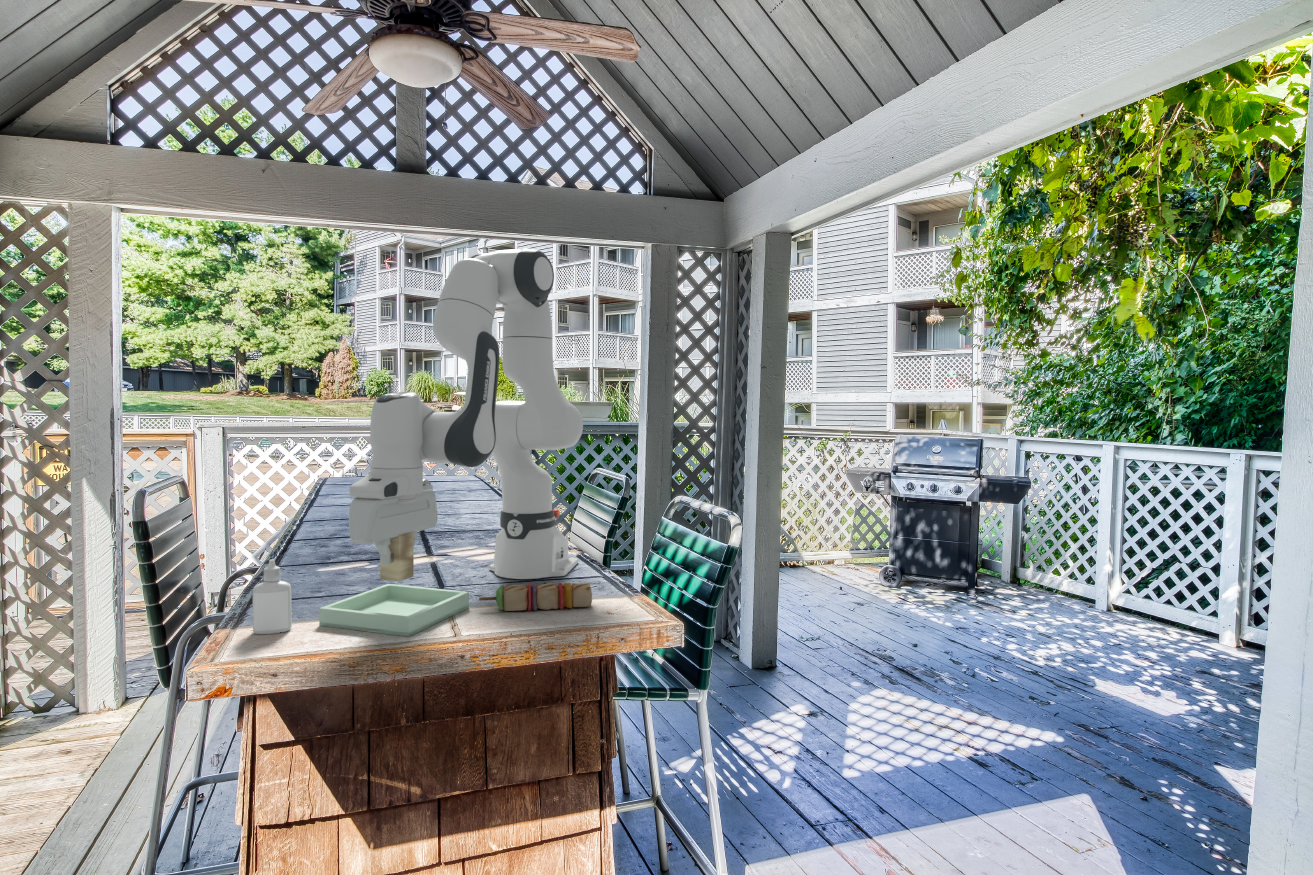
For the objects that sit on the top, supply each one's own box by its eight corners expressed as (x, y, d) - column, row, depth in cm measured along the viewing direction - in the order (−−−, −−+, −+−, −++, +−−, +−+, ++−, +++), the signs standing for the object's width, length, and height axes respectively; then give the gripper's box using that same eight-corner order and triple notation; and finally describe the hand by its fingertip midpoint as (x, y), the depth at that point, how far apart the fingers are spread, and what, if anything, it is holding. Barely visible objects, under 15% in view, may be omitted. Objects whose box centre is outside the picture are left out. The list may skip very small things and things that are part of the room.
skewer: (589, 602, 141) (589, 577, 141) (592, 611, 135) (592, 585, 134) (480, 606, 137) (480, 580, 137) (478, 616, 131) (478, 589, 131)
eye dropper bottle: (279, 636, 118) (278, 563, 117) (248, 634, 118) (247, 561, 118) (296, 628, 122) (295, 557, 121) (266, 626, 123) (265, 556, 122)
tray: (388, 598, 141) (387, 583, 141) (468, 607, 135) (469, 591, 135) (319, 625, 124) (319, 608, 123) (409, 636, 118) (408, 618, 118)
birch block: (394, 574, 131) (394, 530, 131) (413, 576, 130) (413, 532, 130) (380, 579, 128) (380, 534, 127) (399, 581, 126) (399, 535, 126)
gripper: (417, 477, 139) (417, 548, 140) (341, 488, 120) (342, 570, 120) (445, 478, 137) (445, 551, 138) (373, 489, 118) (373, 573, 118)
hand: (396, 560), depth 129 cm, fingers closed on birch block, 4 cm apart
